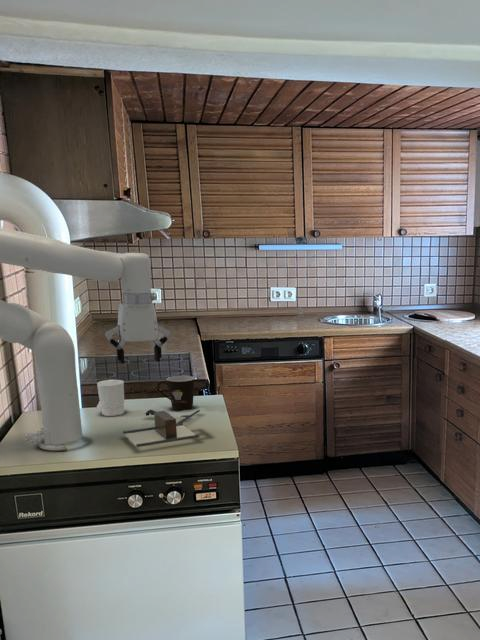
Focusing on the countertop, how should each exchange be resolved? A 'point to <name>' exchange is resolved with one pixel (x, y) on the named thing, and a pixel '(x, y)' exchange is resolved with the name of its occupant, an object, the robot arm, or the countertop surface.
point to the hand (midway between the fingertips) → (139, 361)
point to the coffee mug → (180, 392)
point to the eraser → (165, 425)
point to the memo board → (156, 435)
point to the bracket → (180, 416)
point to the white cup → (111, 397)
